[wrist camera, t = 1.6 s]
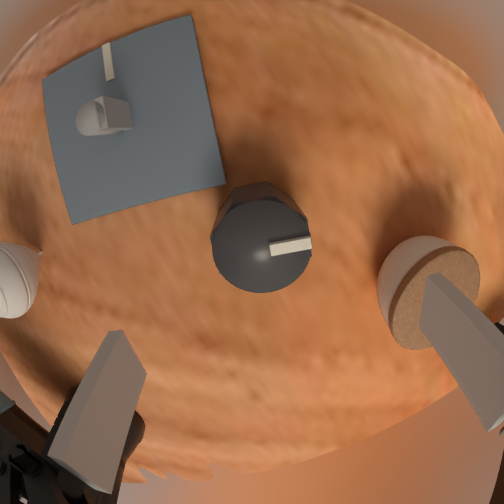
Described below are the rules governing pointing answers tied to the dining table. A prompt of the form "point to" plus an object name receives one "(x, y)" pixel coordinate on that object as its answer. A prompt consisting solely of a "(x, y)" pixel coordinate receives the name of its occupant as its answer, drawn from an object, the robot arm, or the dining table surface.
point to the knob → (260, 239)
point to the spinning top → (17, 279)
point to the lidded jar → (420, 283)
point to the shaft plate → (133, 122)
